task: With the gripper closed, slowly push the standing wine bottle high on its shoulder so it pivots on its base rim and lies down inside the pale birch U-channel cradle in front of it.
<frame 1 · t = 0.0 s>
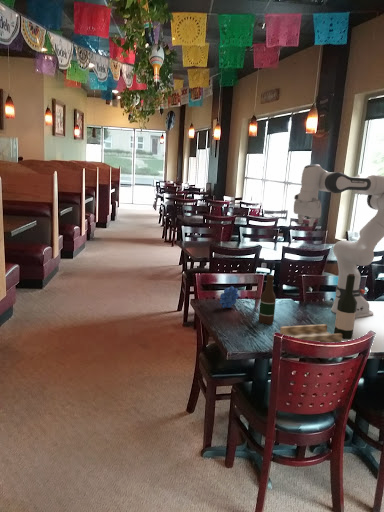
hand: (305, 224, 214), 48 cm above the table, tool pointing down, fingers open, 8 cm apart
beer bottle 2: (265, 322, 210), on the table
wine bottle: (342, 336, 198), on the table
cradle: (310, 337, 193), on the table
grapes: (227, 307, 229), on the table
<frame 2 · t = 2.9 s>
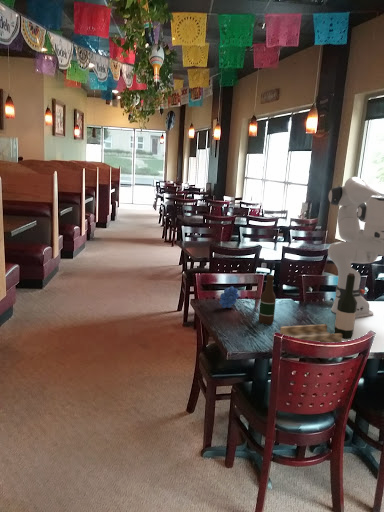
hand: (369, 261, 194), 35 cm above the table, tool pointing down, fingers closed
nothing on the table moved.
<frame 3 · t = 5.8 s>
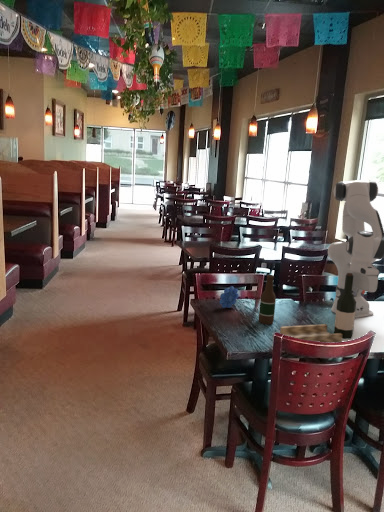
hand: (356, 296, 195), 19 cm above the table, tool pointing down, fingers closed
wine bottle: (342, 335, 198), on the table, touching gripper
everything else where it was.
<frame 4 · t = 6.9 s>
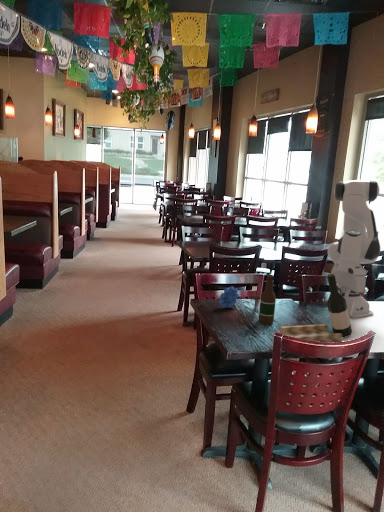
hand: (344, 296, 193), 19 cm above the table, tool pointing down, fingers closed
wine bottle: (342, 333, 198), point 1 cm above the table
everything else where it was.
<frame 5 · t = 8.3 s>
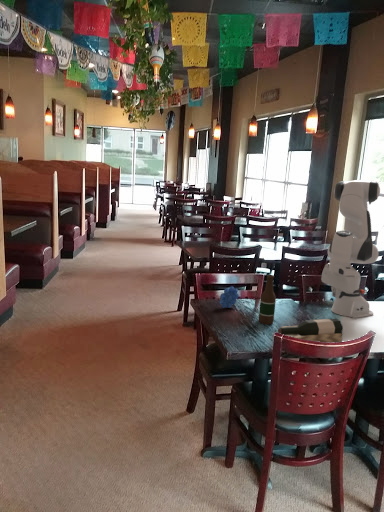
hand: (335, 297, 192), 19 cm above the table, tool pointing down, fingers closed
wine bottle: (337, 327, 195), point 4 cm above the table, touching cradle
everything else where it was.
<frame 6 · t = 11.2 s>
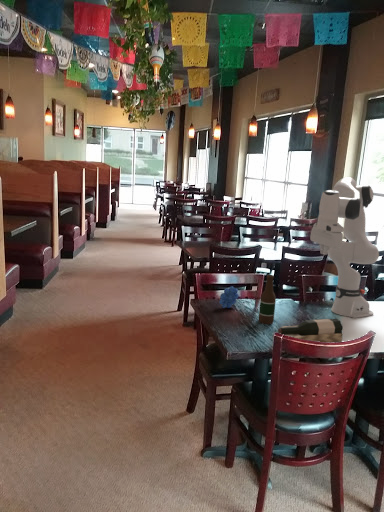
hand: (323, 254, 201), 36 cm above the table, tool pointing down, fingers closed
nothing on the table moved.
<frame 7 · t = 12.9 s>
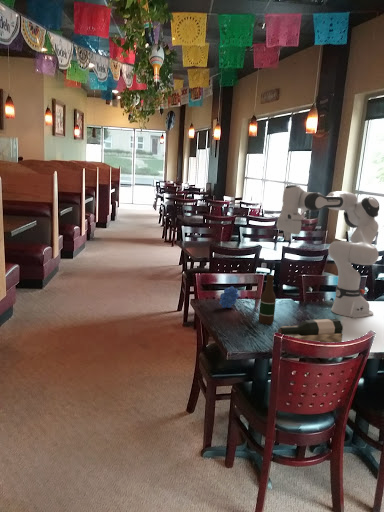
hand: (286, 239, 233), 37 cm above the table, tool pointing down, fingers closed
nothing on the table moved.
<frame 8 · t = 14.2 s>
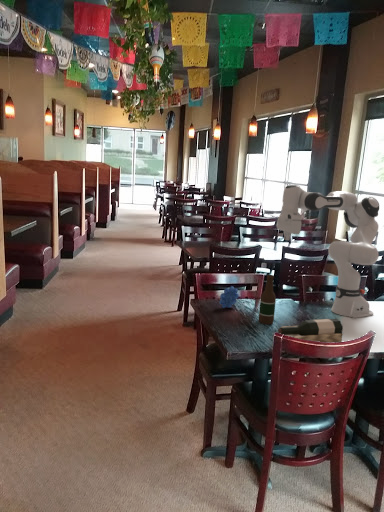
hand: (286, 239, 233), 37 cm above the table, tool pointing down, fingers closed
nothing on the table moved.
at the end: wine bottle tilted 90°; wine bottle inside the target area (3.0 cm from its centre), point 4.5 cm above the table; wine bottle touching cradle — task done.
